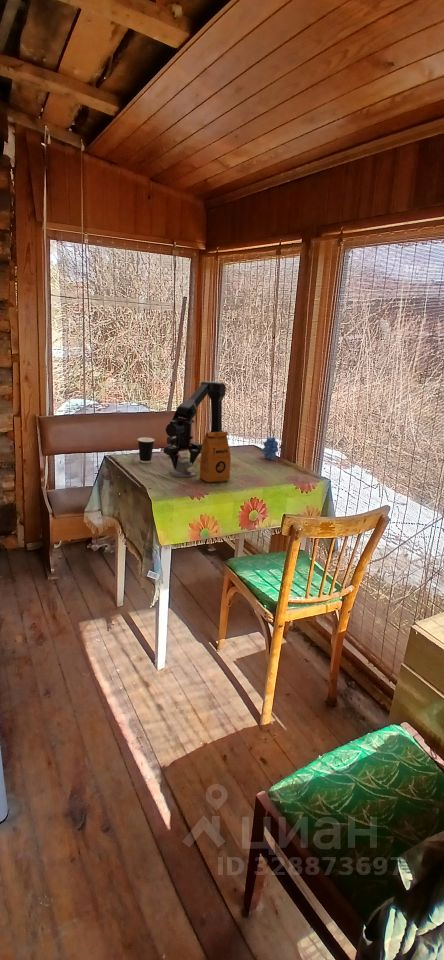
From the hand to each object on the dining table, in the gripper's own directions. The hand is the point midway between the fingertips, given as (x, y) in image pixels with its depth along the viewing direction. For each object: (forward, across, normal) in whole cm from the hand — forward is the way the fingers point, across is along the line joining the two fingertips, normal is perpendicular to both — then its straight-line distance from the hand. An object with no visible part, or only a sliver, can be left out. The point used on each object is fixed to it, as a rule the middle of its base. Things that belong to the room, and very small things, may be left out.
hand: (183, 467), depth 250 cm
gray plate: (+3, 0, 0) cm, 3 cm away
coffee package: (+3, -6, +15) cm, 16 cm away
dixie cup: (+3, +4, -24) cm, 25 cm away
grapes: (+3, -56, +2) cm, 56 cm away
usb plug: (+2, 0, +1) cm, 2 cm away
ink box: (+3, -16, -24) cm, 29 cm away
